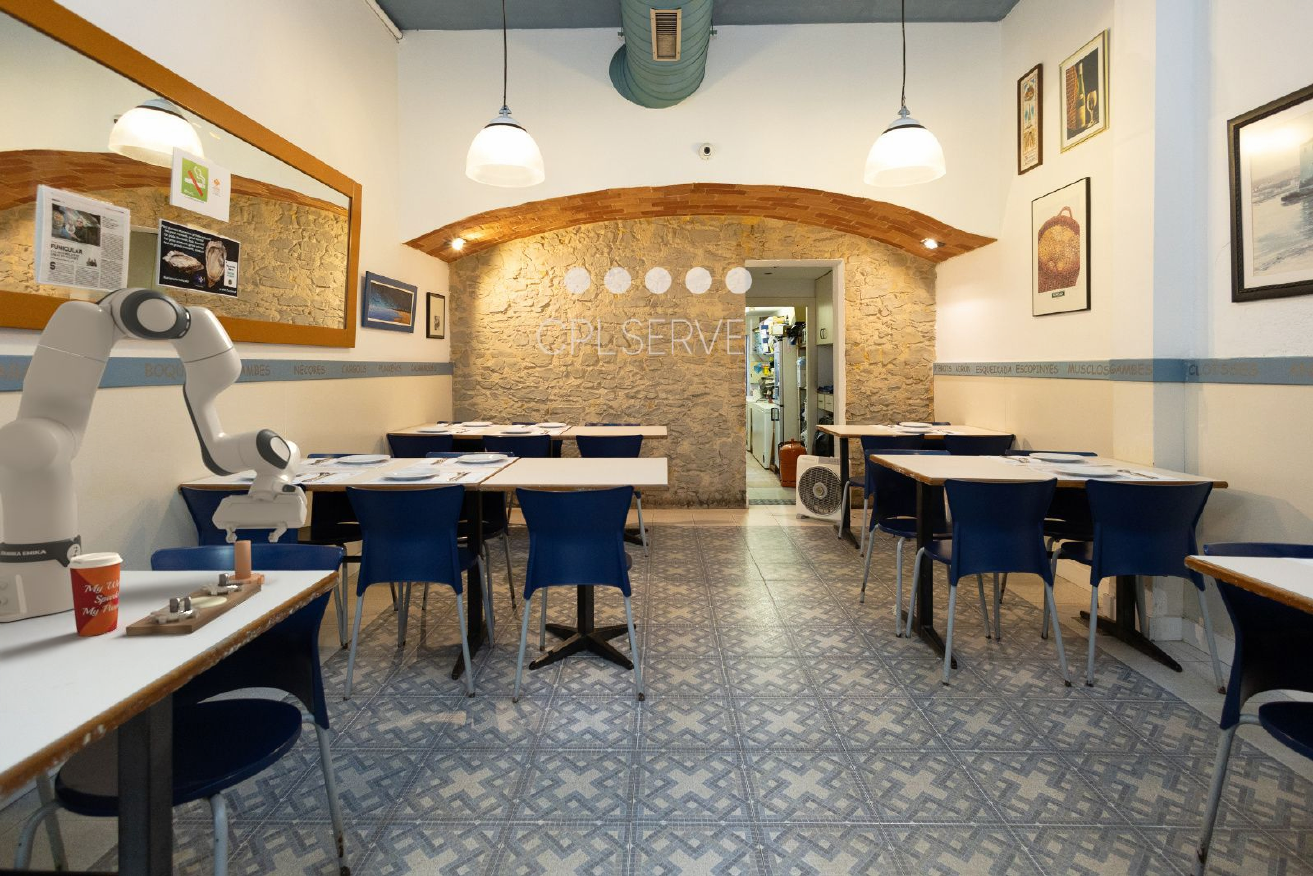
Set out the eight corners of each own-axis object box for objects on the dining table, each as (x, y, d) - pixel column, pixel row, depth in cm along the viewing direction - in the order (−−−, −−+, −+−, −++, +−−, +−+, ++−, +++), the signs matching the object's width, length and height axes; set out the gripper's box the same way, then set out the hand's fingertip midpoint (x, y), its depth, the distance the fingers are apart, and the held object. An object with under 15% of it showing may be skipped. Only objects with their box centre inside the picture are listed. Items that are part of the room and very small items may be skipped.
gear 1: (138, 624, 119) (138, 604, 119) (164, 611, 127) (164, 592, 127) (185, 623, 120) (185, 603, 120) (208, 610, 128) (208, 591, 128)
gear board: (125, 635, 118) (125, 626, 118) (208, 591, 146) (208, 584, 146) (192, 633, 120) (191, 624, 120) (261, 590, 147) (261, 583, 147)
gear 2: (193, 596, 137) (193, 579, 137) (213, 586, 145) (213, 570, 145) (234, 595, 138) (234, 578, 138) (252, 585, 146) (251, 569, 146)
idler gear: (213, 589, 147) (213, 546, 147) (232, 579, 156) (231, 538, 155) (254, 588, 149) (253, 545, 148) (270, 578, 157) (270, 537, 157)
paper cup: (92, 640, 115) (90, 562, 115) (57, 636, 117) (55, 559, 116) (135, 625, 123) (133, 552, 122) (102, 622, 125) (101, 550, 124)
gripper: (219, 487, 162) (198, 534, 152) (307, 487, 165) (292, 533, 155) (228, 502, 166) (209, 549, 157) (314, 502, 169) (299, 547, 160)
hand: (251, 541), depth 156 cm, fingers open, 8 cm apart
